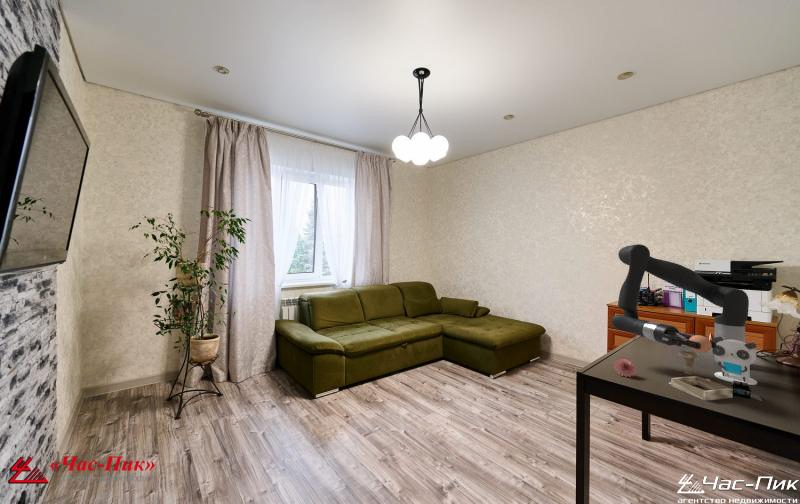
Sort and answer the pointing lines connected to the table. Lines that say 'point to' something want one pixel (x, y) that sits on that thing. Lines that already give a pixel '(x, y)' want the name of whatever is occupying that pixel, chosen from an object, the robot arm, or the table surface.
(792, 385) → the table surface
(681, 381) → the corral
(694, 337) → the ball
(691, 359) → the tee
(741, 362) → the panda figurine
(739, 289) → the robot arm
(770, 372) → the table surface
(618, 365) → the flower
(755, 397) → the black slotted stand
